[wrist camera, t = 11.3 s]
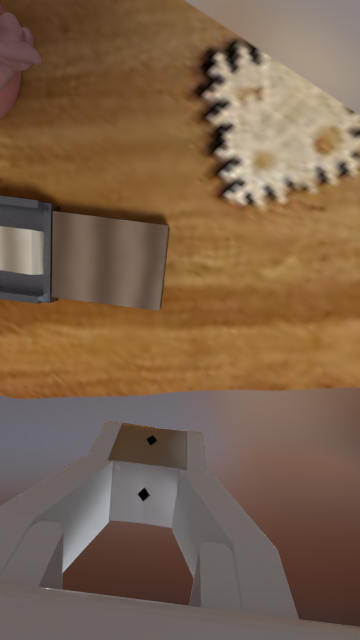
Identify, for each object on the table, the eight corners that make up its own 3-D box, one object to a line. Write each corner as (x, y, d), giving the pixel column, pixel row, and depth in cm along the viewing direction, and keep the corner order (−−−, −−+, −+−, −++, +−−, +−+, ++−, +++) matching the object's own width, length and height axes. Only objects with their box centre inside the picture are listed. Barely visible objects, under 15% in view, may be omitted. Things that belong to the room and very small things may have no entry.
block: (46, 232, 38) (31, 229, 36) (46, 274, 40) (31, 274, 37) (11, 228, 39) (-7, 225, 37) (12, 269, 41) (-5, 269, 38)
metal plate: (169, 227, 39) (168, 225, 36) (161, 307, 42) (159, 310, 39) (62, 214, 39) (52, 211, 36) (61, 294, 42) (51, 297, 39)
